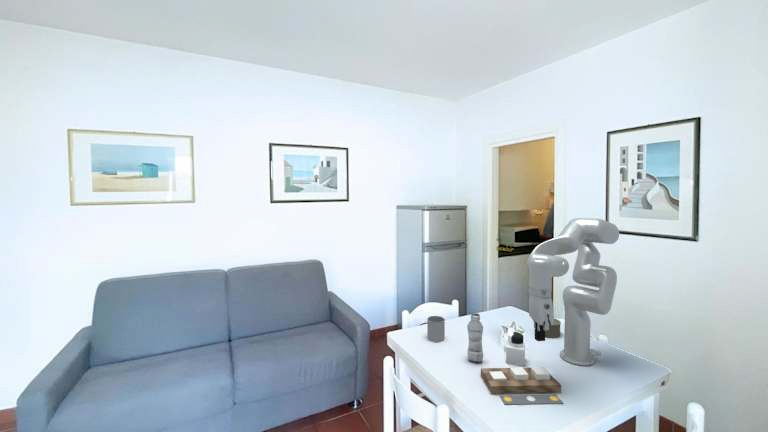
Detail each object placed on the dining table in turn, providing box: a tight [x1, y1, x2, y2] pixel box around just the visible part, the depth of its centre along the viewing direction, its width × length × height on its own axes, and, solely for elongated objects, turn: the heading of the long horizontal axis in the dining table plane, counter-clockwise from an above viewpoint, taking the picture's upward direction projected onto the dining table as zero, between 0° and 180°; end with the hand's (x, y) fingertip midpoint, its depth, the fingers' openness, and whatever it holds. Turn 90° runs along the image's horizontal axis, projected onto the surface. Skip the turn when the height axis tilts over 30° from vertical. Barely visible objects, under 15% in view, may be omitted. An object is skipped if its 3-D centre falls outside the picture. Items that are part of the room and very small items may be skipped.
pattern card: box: [498, 393, 564, 406], centre depth 110 cm, size 20×5×1 cm, turn 91°
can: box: [545, 318, 562, 339], centre depth 164 cm, size 12×12×7 cm
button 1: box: [489, 371, 507, 381], centre depth 119 cm, size 5×5×3 cm
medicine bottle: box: [505, 331, 526, 367], centre depth 136 cm, size 7×7×12 cm
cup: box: [426, 315, 446, 343], centre depth 159 cm, size 8×8×10 cm
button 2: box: [530, 366, 551, 380], centre depth 120 cm, size 5×5×3 cm
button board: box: [480, 367, 562, 395], centre depth 120 cm, size 25×12×3 cm, turn 91°
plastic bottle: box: [466, 312, 484, 363], centre depth 137 cm, size 6×7×20 cm
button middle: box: [509, 367, 528, 380], centre depth 119 cm, size 5×5×3 cm
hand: (539, 340), depth 119 cm, fingers closed
